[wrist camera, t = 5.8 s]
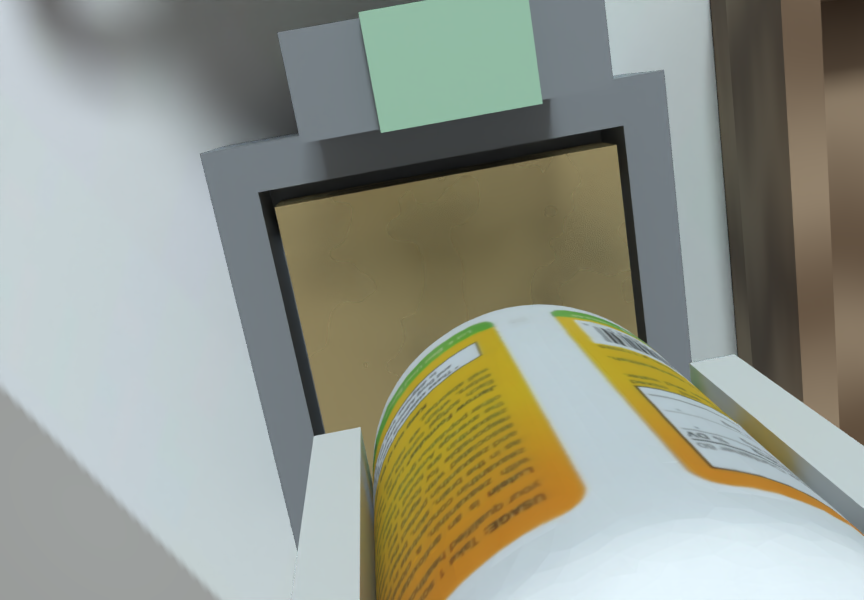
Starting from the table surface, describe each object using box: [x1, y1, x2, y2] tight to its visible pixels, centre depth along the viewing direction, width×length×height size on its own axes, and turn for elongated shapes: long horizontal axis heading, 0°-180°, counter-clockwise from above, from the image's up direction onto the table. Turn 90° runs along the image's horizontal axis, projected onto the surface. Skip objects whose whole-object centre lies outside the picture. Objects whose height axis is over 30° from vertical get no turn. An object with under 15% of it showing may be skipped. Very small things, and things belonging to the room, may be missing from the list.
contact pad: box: [275, 142, 638, 483], centre depth 22 cm, size 9×9×2 cm
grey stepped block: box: [200, 0, 692, 552], centre depth 20 cm, size 14×12×9 cm
